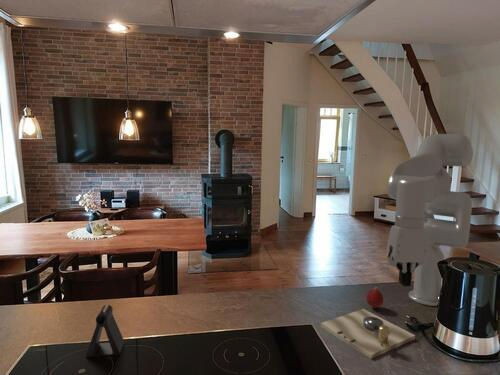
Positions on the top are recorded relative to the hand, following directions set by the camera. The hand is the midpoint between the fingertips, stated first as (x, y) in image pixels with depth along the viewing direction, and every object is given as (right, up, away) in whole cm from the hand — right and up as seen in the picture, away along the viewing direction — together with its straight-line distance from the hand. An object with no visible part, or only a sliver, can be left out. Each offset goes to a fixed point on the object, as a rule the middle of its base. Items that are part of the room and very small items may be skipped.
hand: (404, 284), depth 101 cm
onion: (0, -16, +26) cm, 31 cm away
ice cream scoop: (-6, -17, +6) cm, 19 cm away
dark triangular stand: (-86, -18, -2) cm, 87 cm away
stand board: (-8, -18, +9) cm, 22 cm away
